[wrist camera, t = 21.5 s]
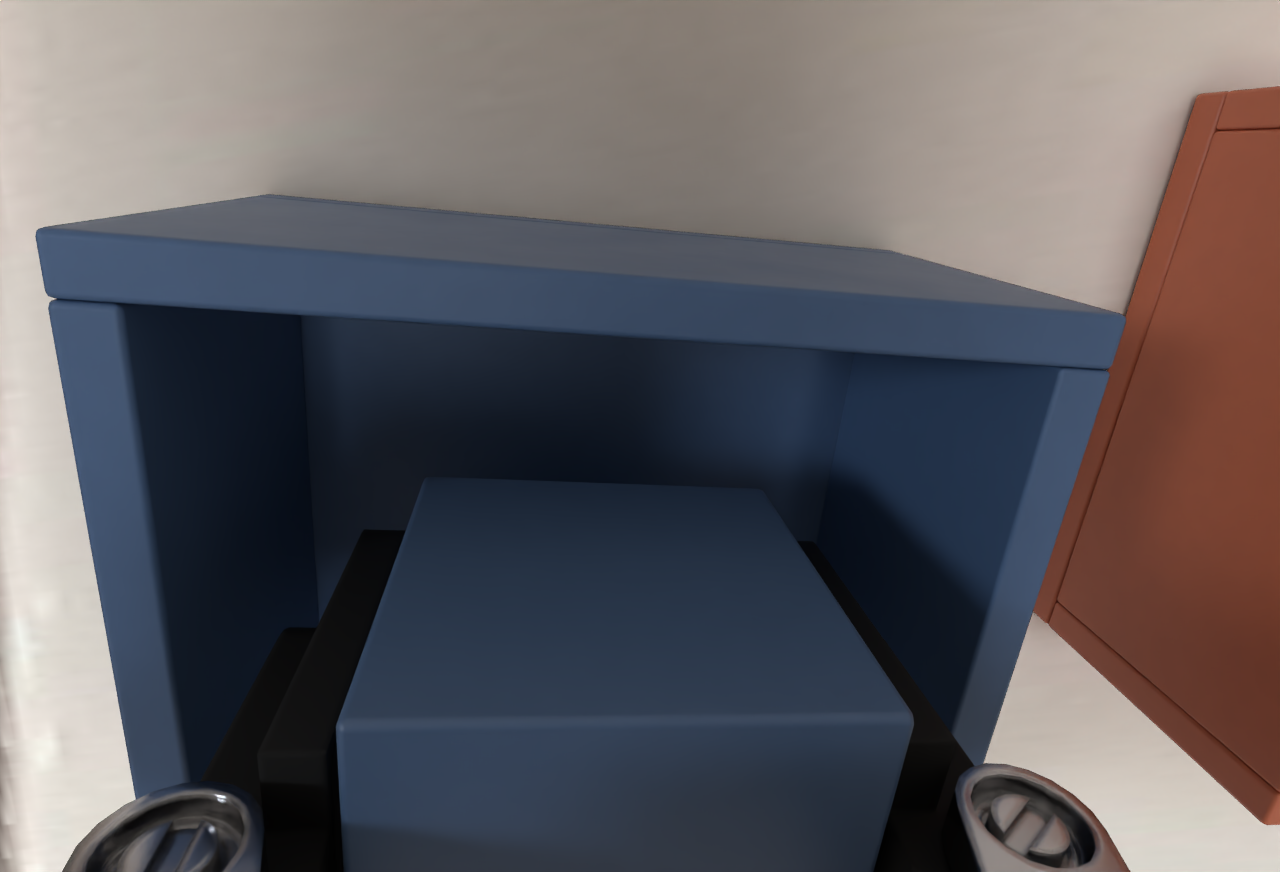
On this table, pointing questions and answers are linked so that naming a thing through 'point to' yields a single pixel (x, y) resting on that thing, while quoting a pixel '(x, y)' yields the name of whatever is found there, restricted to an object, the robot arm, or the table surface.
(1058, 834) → the robot arm
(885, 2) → the table surface
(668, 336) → the slate bin
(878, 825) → the slate block
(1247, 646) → the terracotta bin
